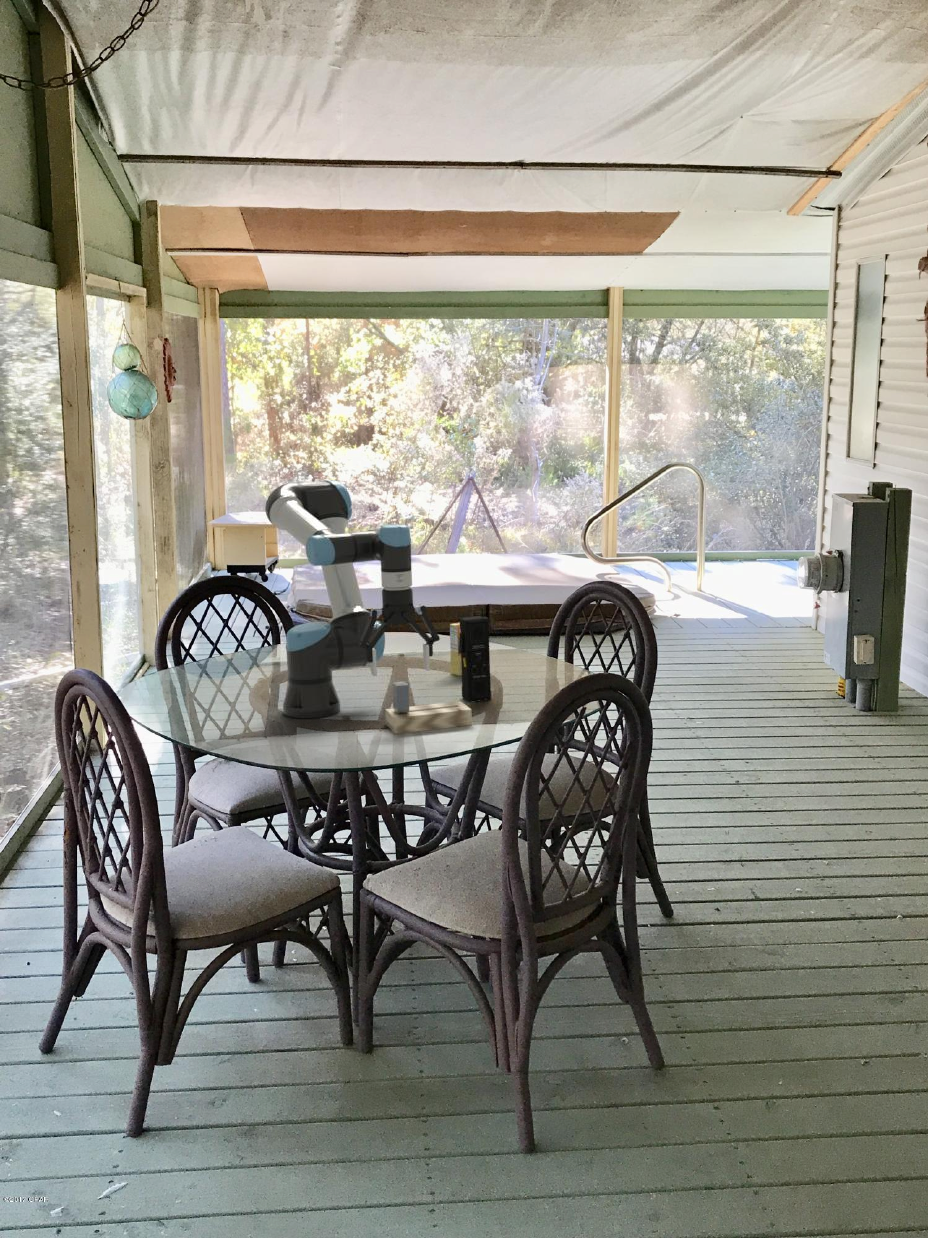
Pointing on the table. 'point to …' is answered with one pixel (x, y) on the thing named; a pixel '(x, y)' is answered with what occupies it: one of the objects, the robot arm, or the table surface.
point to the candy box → (455, 649)
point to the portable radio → (475, 658)
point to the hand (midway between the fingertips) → (400, 672)
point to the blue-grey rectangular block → (401, 697)
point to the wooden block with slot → (429, 717)
